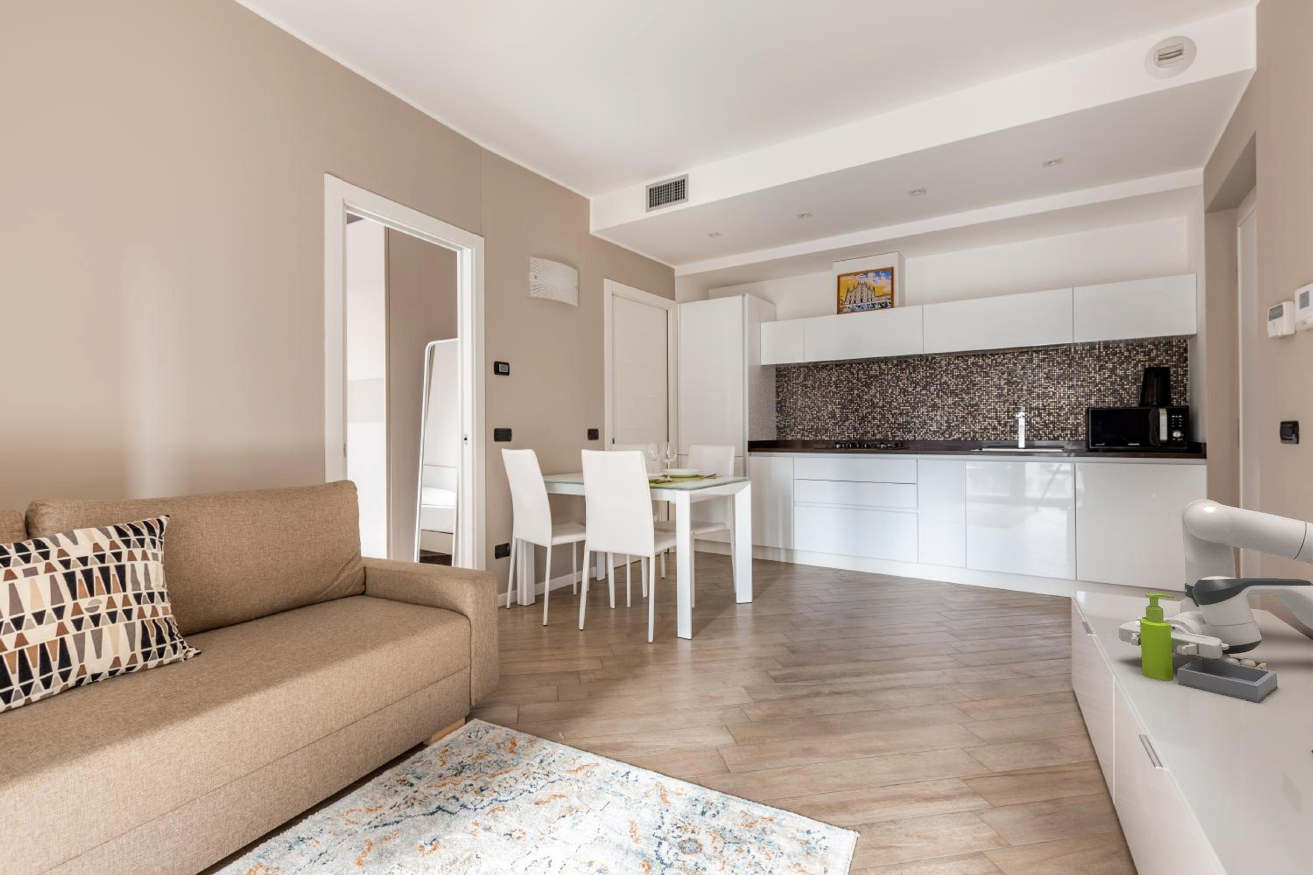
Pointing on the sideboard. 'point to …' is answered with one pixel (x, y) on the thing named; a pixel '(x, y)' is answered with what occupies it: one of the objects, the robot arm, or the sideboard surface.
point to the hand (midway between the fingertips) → (1156, 646)
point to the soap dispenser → (1156, 641)
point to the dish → (1228, 679)
